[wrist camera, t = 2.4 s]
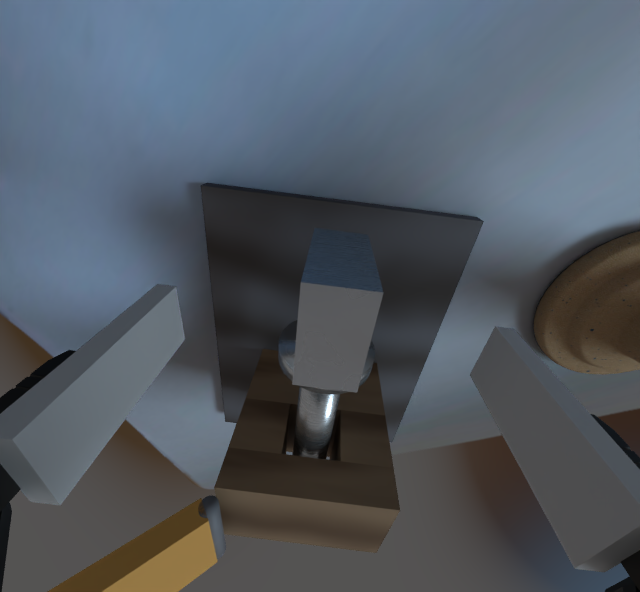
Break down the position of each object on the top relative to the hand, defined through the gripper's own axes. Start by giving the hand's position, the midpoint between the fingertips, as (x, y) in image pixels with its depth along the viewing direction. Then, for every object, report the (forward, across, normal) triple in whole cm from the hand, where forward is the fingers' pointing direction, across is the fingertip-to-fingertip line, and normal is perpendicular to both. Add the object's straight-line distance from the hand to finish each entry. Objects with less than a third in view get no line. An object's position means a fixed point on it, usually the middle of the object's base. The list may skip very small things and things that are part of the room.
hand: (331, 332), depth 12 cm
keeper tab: (-5, -8, -13) cm, 16 cm away
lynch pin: (+5, 0, -6) cm, 8 cm away
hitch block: (+10, 0, -8) cm, 13 cm away
